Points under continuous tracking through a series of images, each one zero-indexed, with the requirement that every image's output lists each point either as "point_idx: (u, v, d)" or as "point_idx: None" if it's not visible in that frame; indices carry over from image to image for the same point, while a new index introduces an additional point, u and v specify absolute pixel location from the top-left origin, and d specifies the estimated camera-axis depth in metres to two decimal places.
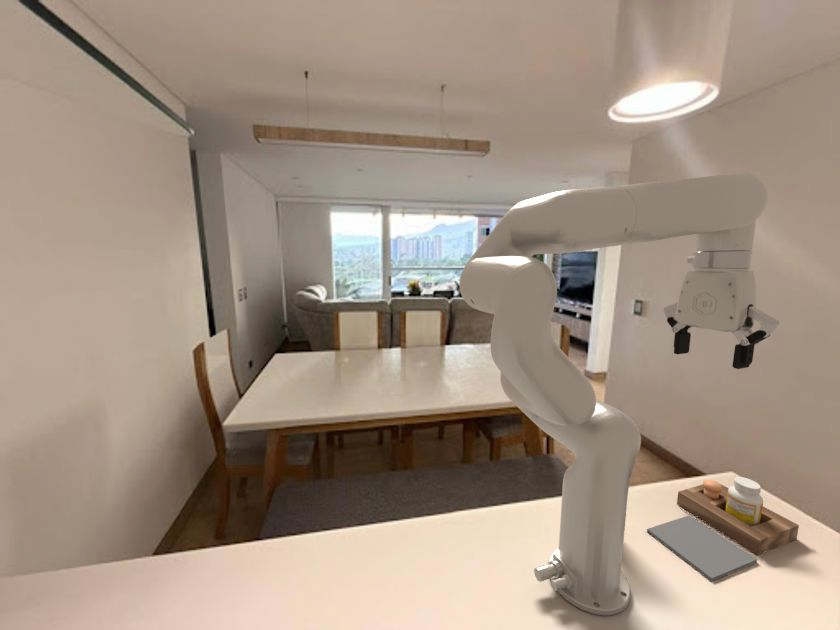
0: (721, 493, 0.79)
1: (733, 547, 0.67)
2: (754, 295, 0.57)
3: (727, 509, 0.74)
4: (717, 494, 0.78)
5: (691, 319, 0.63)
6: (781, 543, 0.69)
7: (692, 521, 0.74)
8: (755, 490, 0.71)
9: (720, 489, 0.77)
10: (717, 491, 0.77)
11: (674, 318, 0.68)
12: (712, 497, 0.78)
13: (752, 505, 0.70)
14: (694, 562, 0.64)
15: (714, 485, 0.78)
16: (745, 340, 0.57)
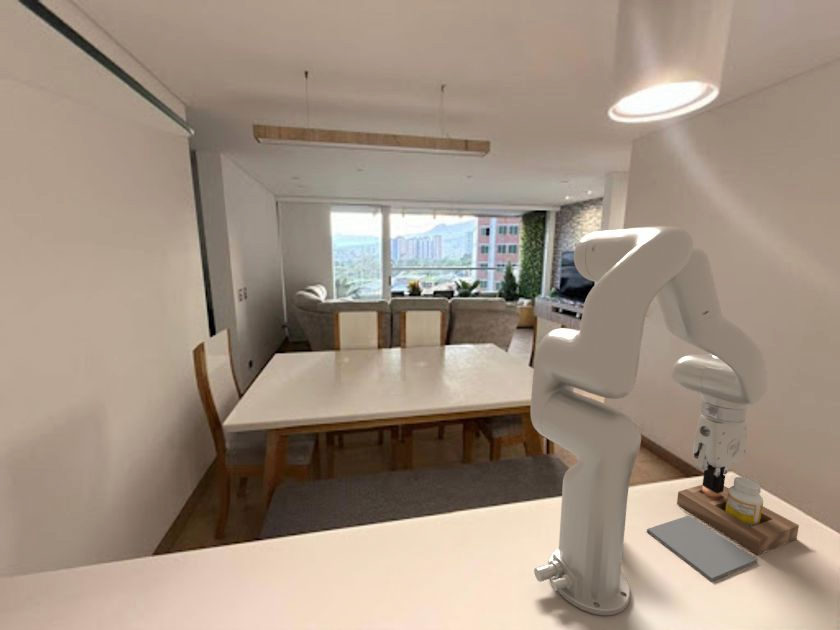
0: (721, 493, 0.79)
1: (733, 547, 0.67)
2: None
3: (727, 509, 0.74)
4: None
5: (725, 462, 0.75)
6: (781, 543, 0.69)
7: (692, 521, 0.74)
8: (755, 490, 0.71)
9: (719, 495, 0.78)
10: (716, 497, 0.77)
11: None
12: None
13: (752, 505, 0.70)
14: (694, 562, 0.64)
15: None
16: None
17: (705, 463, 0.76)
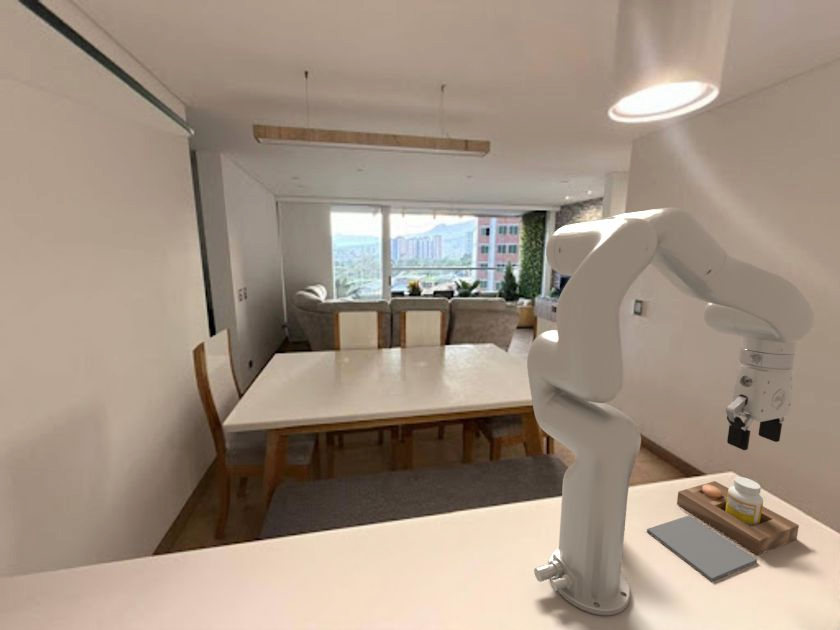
0: (721, 493, 0.79)
1: (733, 547, 0.67)
2: None
3: (727, 509, 0.74)
4: None
5: (769, 415, 0.67)
6: (781, 543, 0.69)
7: (692, 521, 0.74)
8: (755, 490, 0.71)
9: (719, 495, 0.78)
10: (716, 497, 0.77)
11: None
12: None
13: (752, 505, 0.70)
14: (694, 562, 0.64)
15: (714, 490, 0.78)
16: (780, 418, 0.71)
17: (744, 405, 0.68)
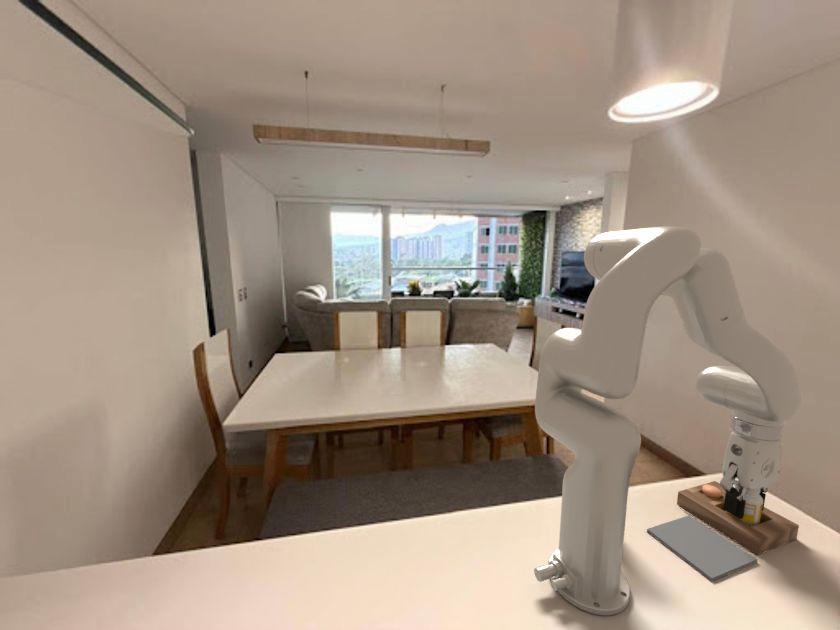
0: (721, 493, 0.79)
1: (733, 547, 0.67)
2: None
3: None
4: None
5: (759, 483, 0.69)
6: (781, 543, 0.69)
7: (692, 521, 0.74)
8: (755, 490, 0.71)
9: (719, 495, 0.78)
10: (716, 497, 0.77)
11: None
12: None
13: (752, 505, 0.70)
14: (694, 562, 0.64)
15: (714, 490, 0.78)
16: None
17: (734, 479, 0.70)
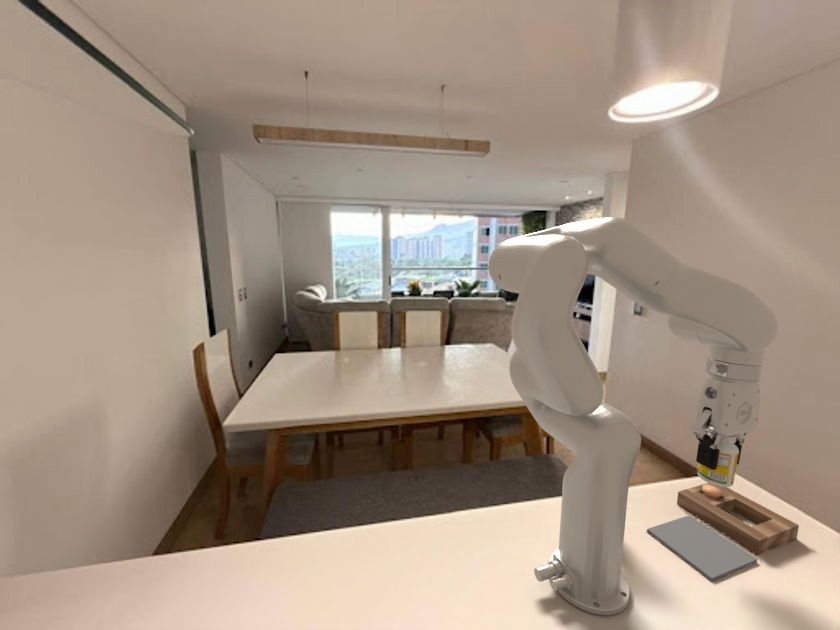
0: (721, 493, 0.79)
1: (733, 547, 0.67)
2: None
3: None
4: None
5: (734, 429, 0.63)
6: (781, 543, 0.69)
7: (692, 521, 0.74)
8: (730, 438, 0.64)
9: (719, 495, 0.78)
10: (716, 497, 0.77)
11: None
12: None
13: (727, 454, 0.64)
14: (694, 562, 0.64)
15: (714, 490, 0.78)
16: None
17: (707, 425, 0.64)
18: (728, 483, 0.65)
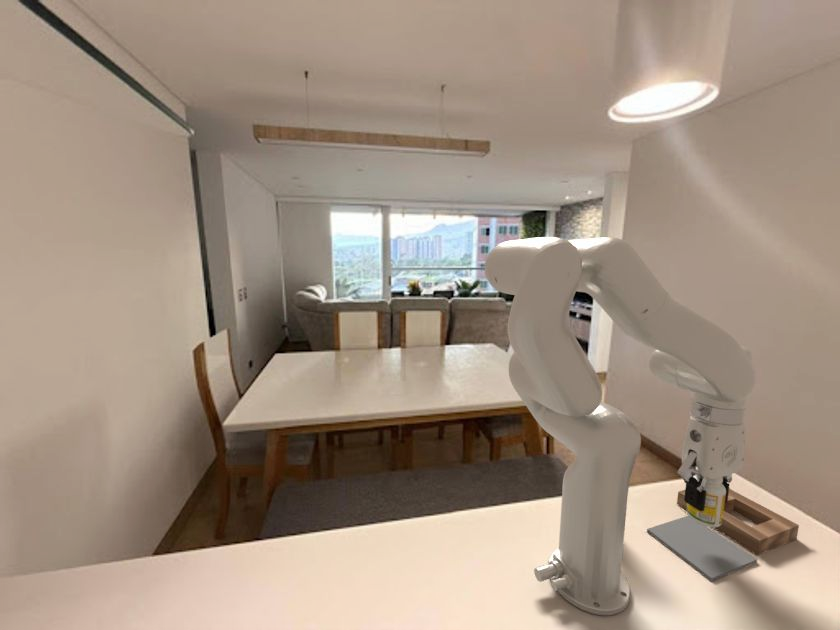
0: None
1: (733, 547, 0.67)
2: None
3: None
4: None
5: (720, 472, 0.63)
6: (781, 543, 0.69)
7: (692, 521, 0.74)
8: (717, 479, 0.64)
9: None
10: None
11: None
12: None
13: (713, 496, 0.64)
14: (694, 562, 0.64)
15: None
16: None
17: (693, 468, 0.64)
18: (716, 523, 0.65)
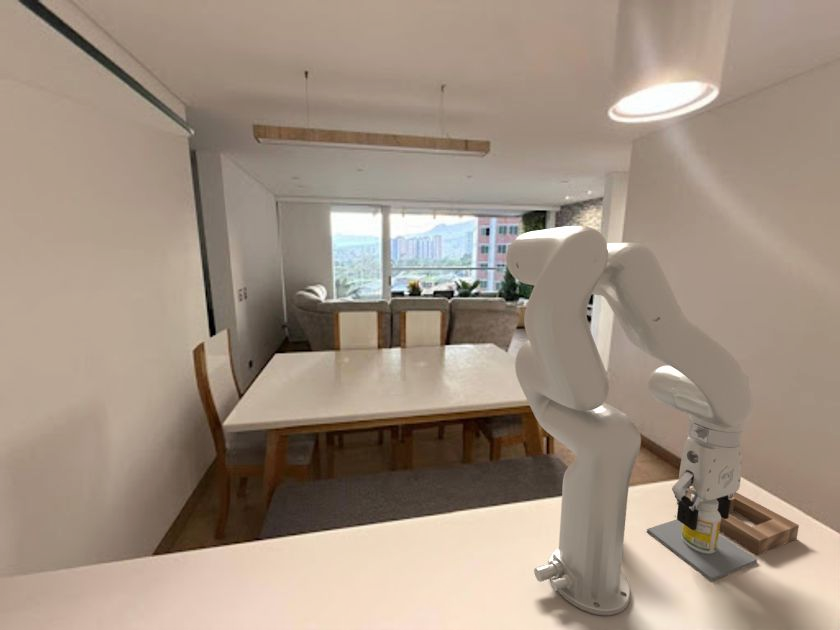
0: None
1: (733, 547, 0.67)
2: None
3: (684, 526, 0.69)
4: None
5: (716, 493, 0.63)
6: (781, 543, 0.69)
7: None
8: (712, 506, 0.65)
9: None
10: None
11: None
12: None
13: (708, 523, 0.65)
14: (694, 562, 0.64)
15: None
16: (729, 494, 0.68)
17: (690, 484, 0.64)
18: (711, 550, 0.66)
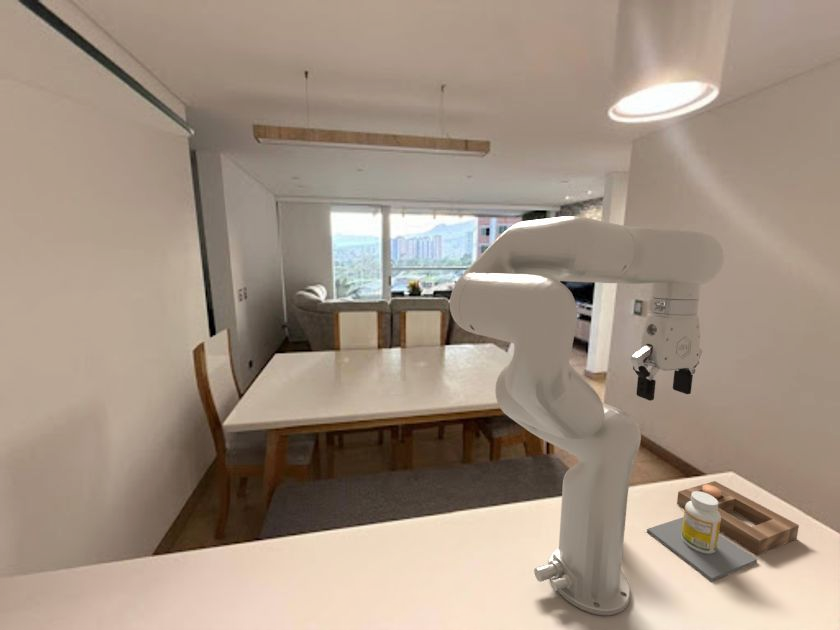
0: (721, 493, 0.79)
1: (733, 547, 0.67)
2: None
3: (684, 526, 0.69)
4: None
5: (674, 363, 0.65)
6: (781, 543, 0.69)
7: None
8: (712, 506, 0.65)
9: (719, 495, 0.78)
10: (716, 497, 0.77)
11: None
12: None
13: (708, 523, 0.65)
14: (694, 562, 0.64)
15: (714, 490, 0.78)
16: (691, 369, 0.70)
17: (649, 354, 0.66)
18: (711, 550, 0.66)
